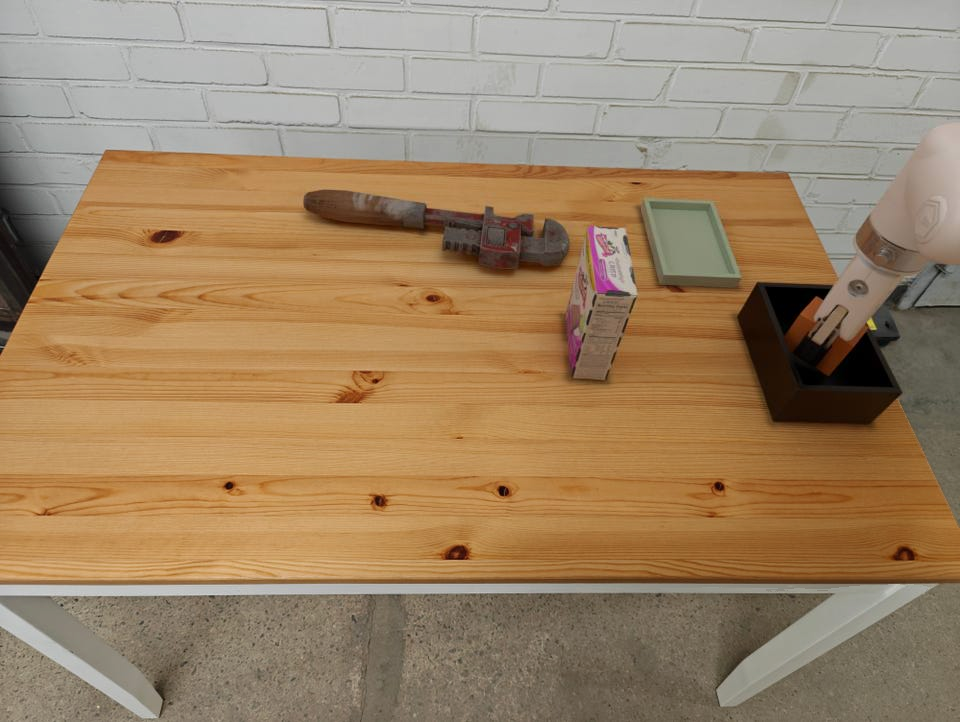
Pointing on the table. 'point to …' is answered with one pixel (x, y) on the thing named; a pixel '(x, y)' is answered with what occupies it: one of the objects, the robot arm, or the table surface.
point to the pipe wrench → (494, 241)
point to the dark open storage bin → (797, 385)
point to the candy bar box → (600, 302)
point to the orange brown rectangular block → (839, 345)
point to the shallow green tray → (689, 243)
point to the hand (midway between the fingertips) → (814, 347)
